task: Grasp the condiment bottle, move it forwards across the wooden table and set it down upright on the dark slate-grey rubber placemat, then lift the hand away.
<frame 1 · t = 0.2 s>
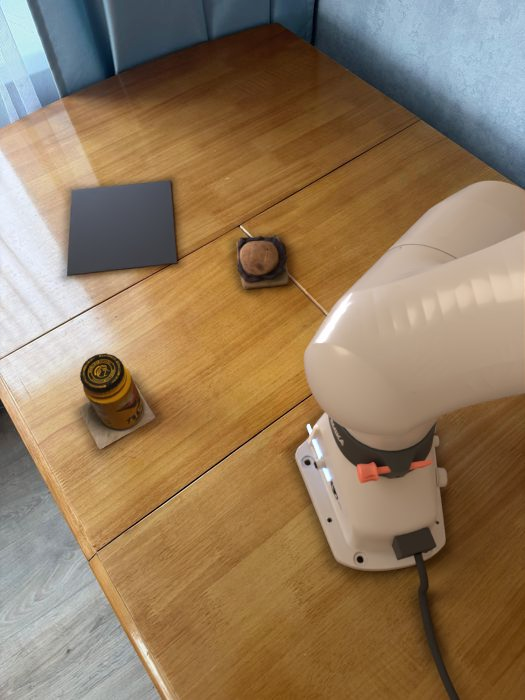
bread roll: (262, 264, 88), on the table
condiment: (117, 414, 74), on the table
placemat: (122, 225, 92), on the table
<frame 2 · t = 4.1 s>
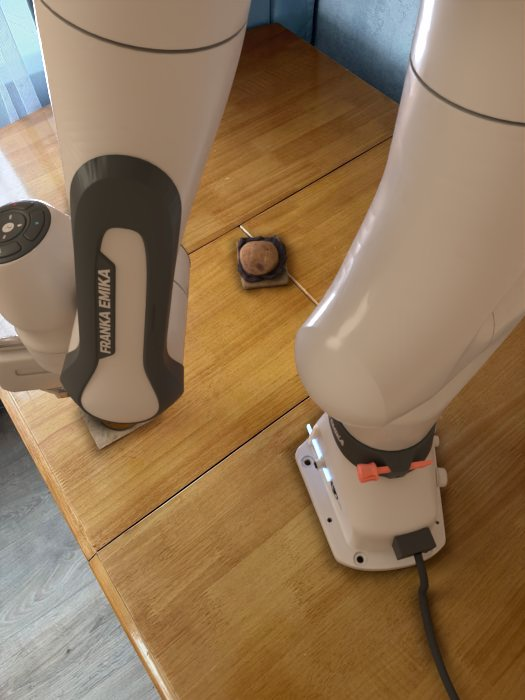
hand: (102, 388, 68), 7 cm above the table, tool pointing down, fingers open, 8 cm apart
nothing on the table moved.
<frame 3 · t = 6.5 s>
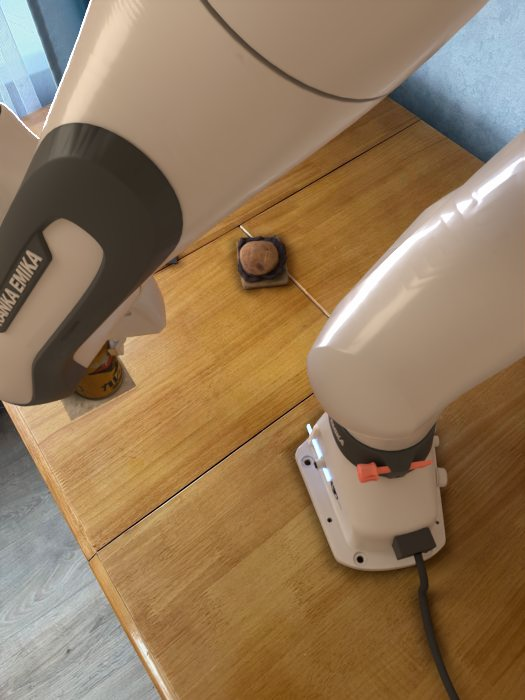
hand: (85, 354, 60), 16 cm above the table, tool pointing down, fingers closed on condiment, 6 cm apart
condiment: (93, 382, 65), point 10 cm above the table, touching gripper
everything else where it was.
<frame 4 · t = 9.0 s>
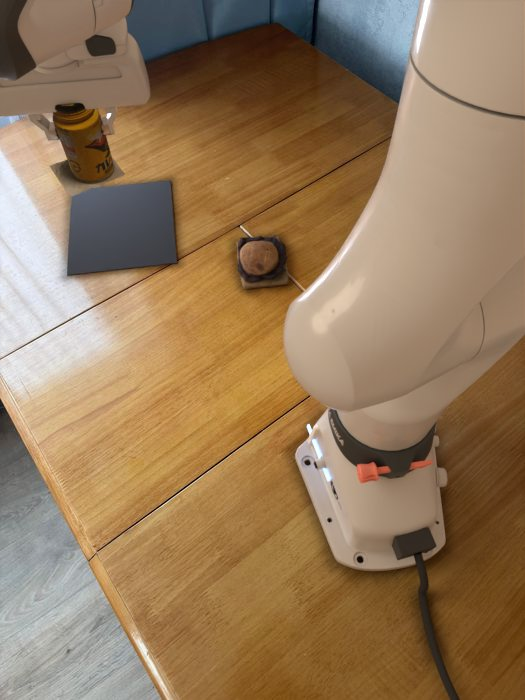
hand: (82, 134, 71), 22 cm above the table, tool pointing down, fingers closed on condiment, 6 cm apart
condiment: (88, 172, 77), point 16 cm above the table, touching gripper
everything else where it was.
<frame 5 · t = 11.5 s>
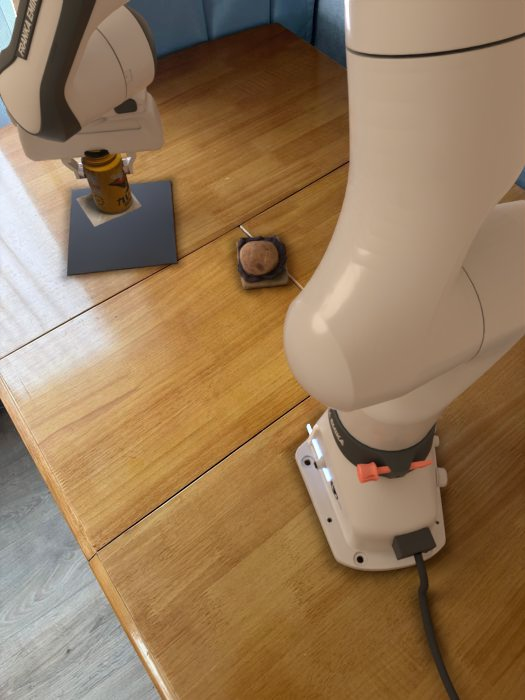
hand: (106, 174, 83), 11 cm above the table, tool pointing down, fingers closed on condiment, 6 cm apart
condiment: (109, 204, 88), point 5 cm above the table, touching gripper
everything else where it was.
when the fingers open (6 cm above the table, at t = 13.3 s): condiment stays where it is, resting on placemat.
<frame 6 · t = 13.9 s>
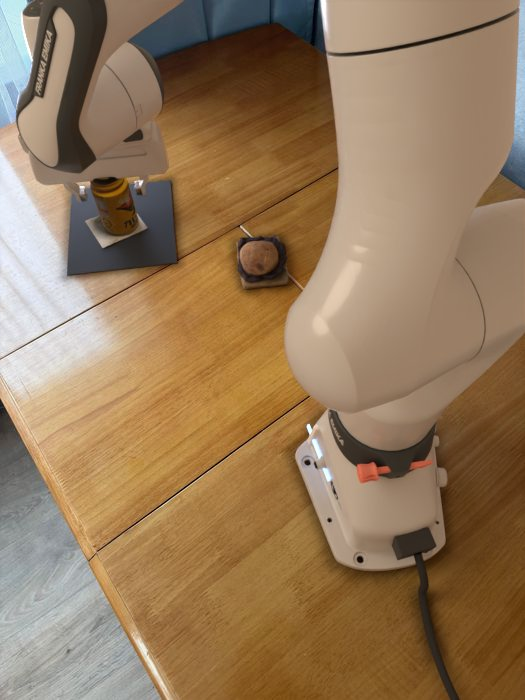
hand: (112, 196, 87), 7 cm above the table, tool pointing down, fingers open, 8 cm apart
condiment: (116, 226, 92), resting on placemat
everything else where it was.
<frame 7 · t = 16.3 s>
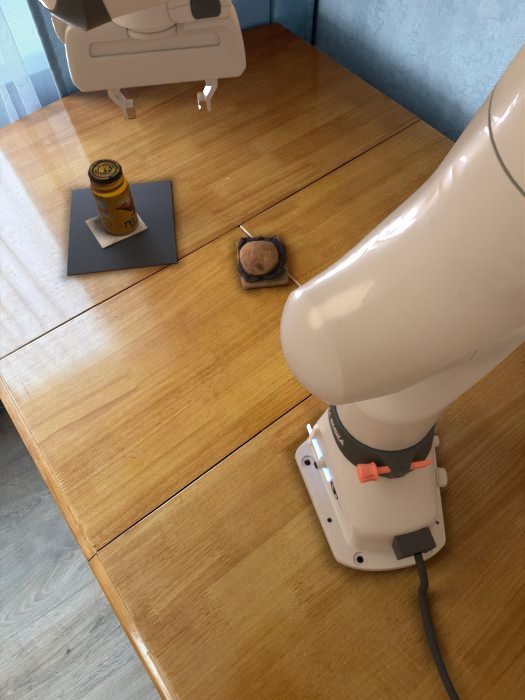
hand: (168, 112, 67), 26 cm above the table, tool pointing down, fingers open, 8 cm apart
nothing on the table moved.
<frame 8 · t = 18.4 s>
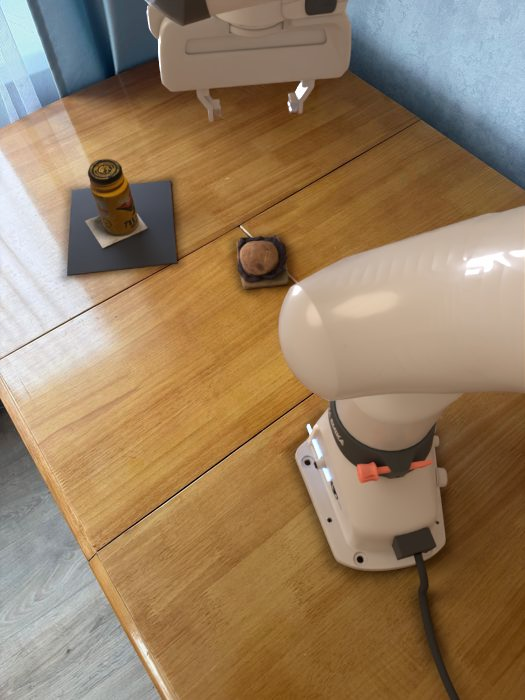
hand: (255, 114, 62), 29 cm above the table, tool pointing down, fingers open, 8 cm apart
nothing on the table moved.
at the end: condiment inside the target area (0.9 cm from its centre), resting on placemat; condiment tilted 0°; the gripper is holding nothing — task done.
